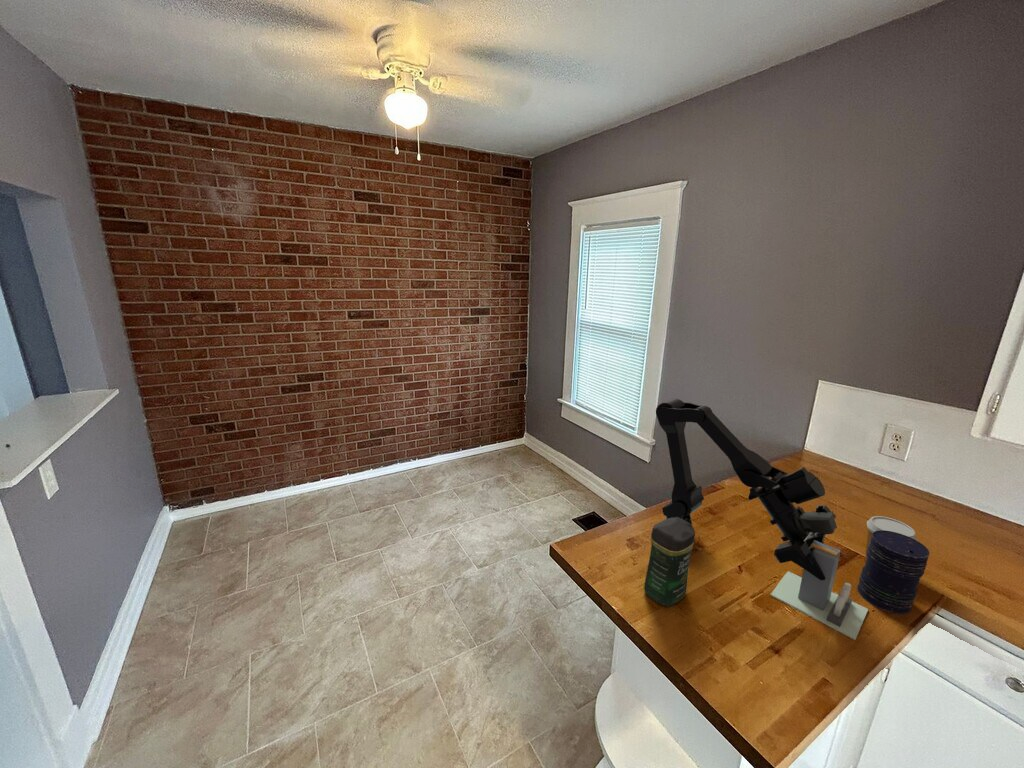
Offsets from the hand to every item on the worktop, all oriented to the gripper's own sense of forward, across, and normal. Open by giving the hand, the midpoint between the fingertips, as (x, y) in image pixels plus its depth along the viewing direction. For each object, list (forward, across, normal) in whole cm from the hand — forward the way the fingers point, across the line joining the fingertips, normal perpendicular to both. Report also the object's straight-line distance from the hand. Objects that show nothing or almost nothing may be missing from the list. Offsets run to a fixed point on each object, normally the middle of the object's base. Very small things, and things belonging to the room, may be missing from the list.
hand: (826, 574), depth 94 cm
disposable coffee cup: (+11, +27, +1) cm, 29 cm away
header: (+5, 0, +6) cm, 8 cm away
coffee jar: (-12, -24, +24) cm, 36 cm away
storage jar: (+12, +14, -1) cm, 18 cm away
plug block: (+4, 0, +6) cm, 8 cm away
